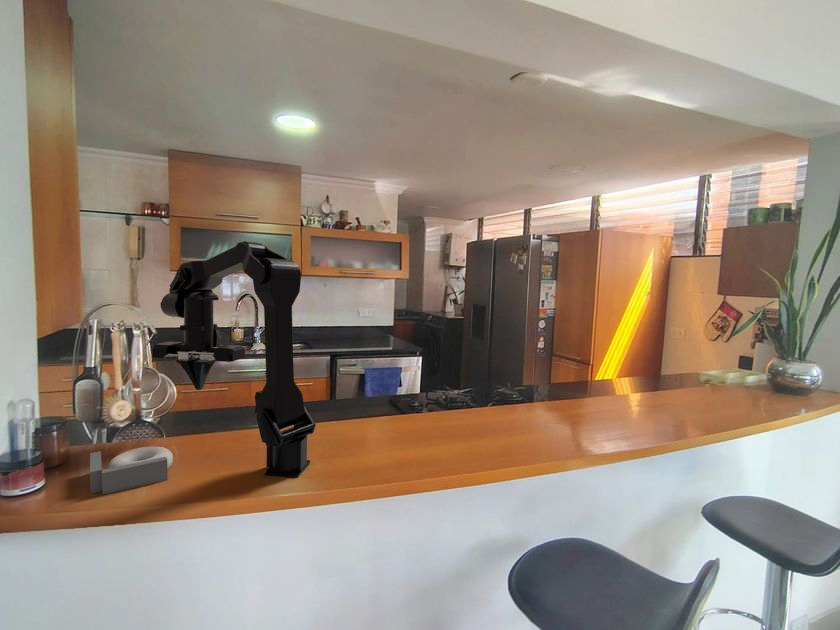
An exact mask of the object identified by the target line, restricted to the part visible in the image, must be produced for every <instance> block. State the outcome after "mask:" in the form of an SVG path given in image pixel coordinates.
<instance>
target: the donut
mask: <svg viewBox="0 0 840 630" xmlns="http://www.w3.org/2000/svg"><path fill="white" fill-rule="evenodd" d="M161 457H167V470H169V468H170V467H171V466H172V464H173V461H174V454H173V452H171V450H169V449H168V448H166V447H162V446H153V445H151V446H143V447H137V448H136V447H135V448H133V449H130V450H126V451H124V452H121V453H120V454H117V455H116V456H115V457H113V458H112V459H111V460H110V461H109V462H108V465H107V467H106V469H108V468H113V467H118V466H123V465H127V464H132V463H137V462H142V461H147V460H151V459H156V458H161Z"/></svg>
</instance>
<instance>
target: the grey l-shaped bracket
mask: <svg viewBox="0 0 840 630" xmlns="http://www.w3.org/2000/svg"><path fill="white" fill-rule="evenodd" d="M102 464H103V463H102V451H101V450H99V451H94V452H90V453H89V487H90V488H89V489H90V494H94V493H96V494H97V493H99V492H102V495H108V494H111V493H116V492H120V491H125V490H129V489H133V488H138V487H143V486H148V485H152V484H156V483H160V482H165V481H168V475H169V474H168V473H169V472H168V470H169V469H167V457H161V458H156V459H151V460H147V461H142V462H137V463H132V464H127V465H123V466H118V467H113V468H108V469H107V468H103V469H102V467H103V466H102Z"/></svg>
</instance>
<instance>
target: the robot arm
mask: <svg viewBox="0 0 840 630" xmlns="http://www.w3.org/2000/svg"><path fill="white" fill-rule="evenodd" d="M242 270H243V272H244V274H246V275H247V276H248V277H249V278H250V279H251V280H252V284H253V289H254V291H253V292H254V294H255V295H256V296H257V298H258V300H259V302H260V303H261V305H262V306H263V311H264V312H263V315H264V317H263V318H264V319H263V320H264V322H263V323H264V349H265V350H264V351H265V352H264V353H265V377H266V378H265V379H266V380H265V384H264V387H263V389H262V390H259V391H256V392H255V395H254V402H255V410H254V414H255V415H256V422H257V426H258V432H259V436H260V440H261V442H262V443H263V444H265V446H266V449H265V450H266V451H265V453H266V456H265V457H266V464H265V465H266V468H267V469H266V470H265V471H264V474H263V475H264V476H272V477H283V478H294V479H295V478H299V477H300V475H301V474H302V473H304V471H305V470H306V469H307V468H308V466H309V465H310V464H311V460H310V459H308V436H309V435H313V434H314V432H315V429H316V422H315V421H314V420H313V418H312V416H311V415H310V413H309V412H308V410H307V408H306V406H305V403H304V397H303V392H302V390H301V389H300V387H299V386H298V385H297V383H296V381H295V374H294V373H295V372H294V371H295V369H294V340H293V339H294V338H293V337H294V336H293V335H294V334H293V333H294V332H293V331H294V330H293V305H294V303H295V302H296V300H297V297H298V296H299V293H300V292H301V291H300V290H301V281H302V270H301V268H300V266H299V265H298V264H297V263H296V261H294V260H291V259H289V258H287V257H286V256H283V255H281V254H279V253H278V252H275V251H273V250H271V249H269V247H268V246H267V245H264V244H263V243H261V242H254V241H246V240H244V241H241V242H237V244H236V245H235V246H232V247H230V248H229V249H227V250H224V251H222V252H220V253H218V254H216V255H214V256H212V257H210V258H207V259H204V260H191V261H184V262H182V263H181V264H180V265H179V267H178V269H177V271H176V273H175V276H174V277H173V279H172V281H171V283H170V285H169V292H168V293H167V294H165V295H164V296H163V298H162V299H161V301H160V309H161V311H162V313H163V314H164V315H166V316H167V317H173V318H181V319H183V324H182V325H181V324H180V325H179V331H183V341H184V342H183V341H165V342H160V343H155V344H154V345H153V347H152V348H151V358H153V359H155V358H156V359H157V358H158V359H164V358H166V357H167V356H168V355H169V354H170V355H177V356H178V357H177V358H178V359H176V360H175V363H177V364H180V366H181V368H182V369H183V370H184V371H185V373H186V375H187V376H188V378H189V379H190V381H191V384H192V386H194V388H195V390H196V391H200V390H203V388H204V386H205V383H206V381H207V378H208V377H209V374H210V373H209V372H210V371H211V369H212V367H213V366H214V364H215V363H216V362H223V363H225V362H226V363H232V362H236V361H239V360H242V359H244V358H246V350H245V348H244V347H243V345H239V344H238V345H237V344H229V339H230V334H228V333H225V332H224V331H220V330H219V326H218V324H217V323H214V301H218V300H219V296H218V295H217V294H216V293H215V292H214V291H213V290H215V289H216V288H217V287H219V286H220V285H221V284H222V283H223V280H224V278H225V277H228V276H230V275H232V274H236V273H237V272H240V271H242ZM288 427H289V428H288Z"/></svg>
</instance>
